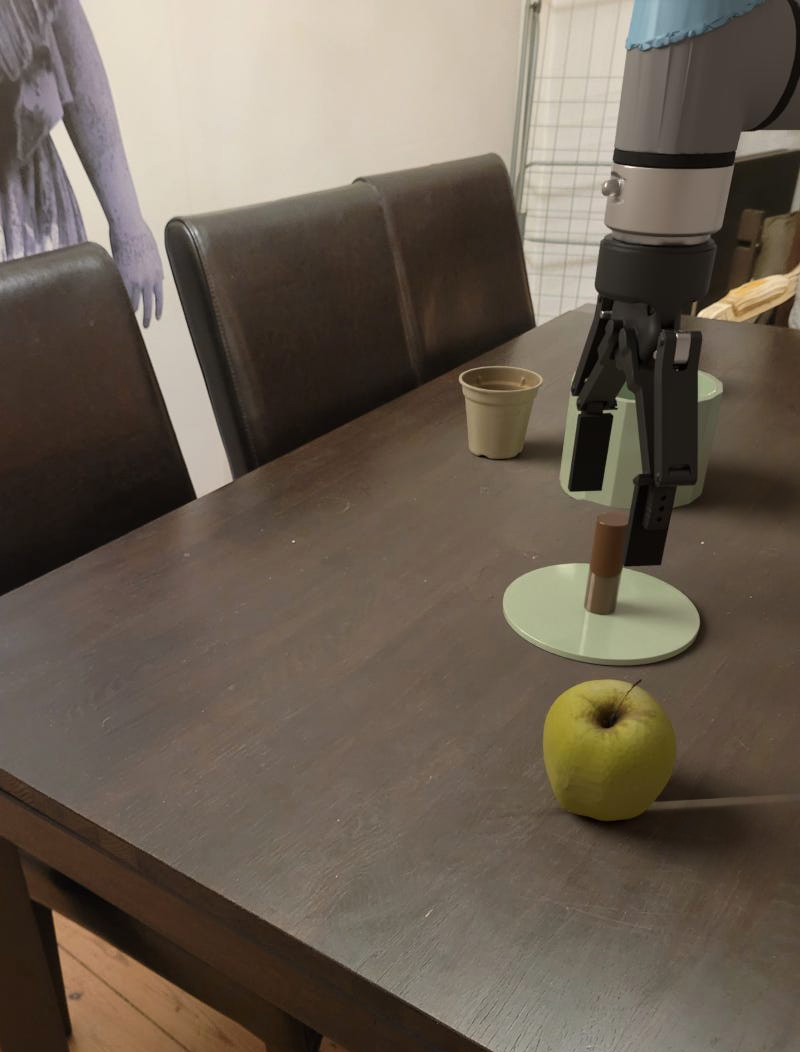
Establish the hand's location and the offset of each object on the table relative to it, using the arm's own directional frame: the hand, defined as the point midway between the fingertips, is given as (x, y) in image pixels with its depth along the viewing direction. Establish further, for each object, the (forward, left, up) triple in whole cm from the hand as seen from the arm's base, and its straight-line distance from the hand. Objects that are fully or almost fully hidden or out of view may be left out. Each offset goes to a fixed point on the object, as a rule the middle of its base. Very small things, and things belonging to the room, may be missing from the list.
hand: (610, 524), depth 75 cm
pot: (-12, -27, -9) cm, 31 cm away
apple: (+7, +22, -9) cm, 25 cm away
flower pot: (0, -39, -9) cm, 40 cm away
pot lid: (0, 0, -8) cm, 8 cm away
